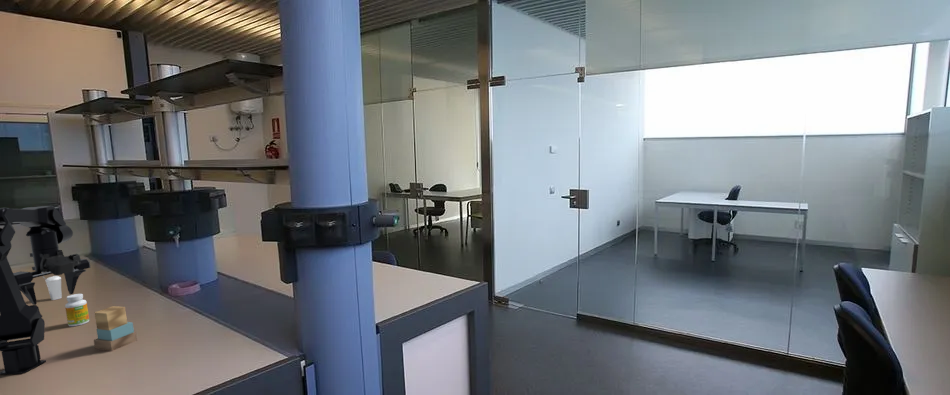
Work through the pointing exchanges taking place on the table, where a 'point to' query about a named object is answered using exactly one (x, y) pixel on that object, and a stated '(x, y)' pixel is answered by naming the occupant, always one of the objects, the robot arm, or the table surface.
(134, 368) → the table surface
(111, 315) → the oak cube
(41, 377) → the table surface
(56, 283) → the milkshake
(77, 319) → the supplement bottle
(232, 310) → the table surface
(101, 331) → the tower top block
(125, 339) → the tower base block
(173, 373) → the table surface
